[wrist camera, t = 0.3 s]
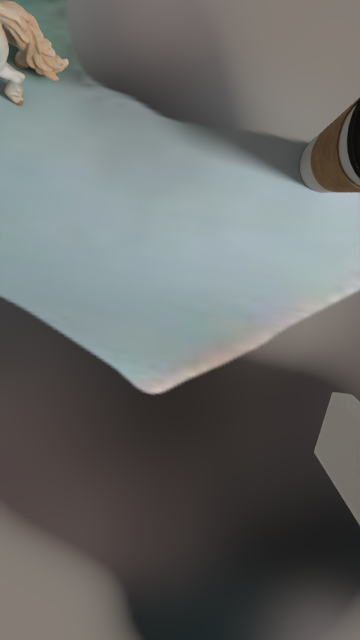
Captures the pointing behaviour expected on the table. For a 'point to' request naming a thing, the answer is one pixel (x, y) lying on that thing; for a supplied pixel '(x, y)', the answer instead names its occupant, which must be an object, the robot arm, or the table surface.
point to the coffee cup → (335, 155)
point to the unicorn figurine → (24, 49)
